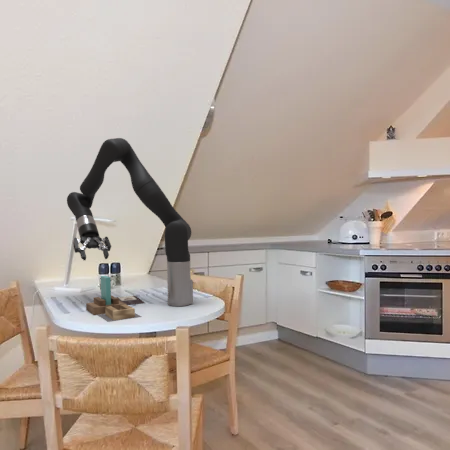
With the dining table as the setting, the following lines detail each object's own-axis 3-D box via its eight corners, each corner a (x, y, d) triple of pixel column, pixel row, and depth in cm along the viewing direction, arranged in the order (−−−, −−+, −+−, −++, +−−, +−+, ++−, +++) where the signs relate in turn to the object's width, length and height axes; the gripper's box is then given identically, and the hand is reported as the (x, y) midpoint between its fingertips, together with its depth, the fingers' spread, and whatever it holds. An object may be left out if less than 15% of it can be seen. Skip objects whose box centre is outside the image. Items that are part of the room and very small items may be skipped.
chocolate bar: (123, 305, 171) (114, 297, 187) (123, 307, 171) (114, 299, 187) (145, 302, 174) (135, 295, 191) (145, 305, 174) (135, 297, 191)
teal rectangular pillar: (105, 301, 165) (105, 275, 165) (111, 304, 160) (110, 277, 160) (101, 302, 164) (100, 276, 164) (106, 305, 159) (105, 277, 159)
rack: (125, 312, 158) (125, 304, 158) (134, 317, 151) (134, 308, 151) (105, 315, 154) (105, 306, 154) (114, 320, 147) (113, 311, 147)
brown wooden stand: (117, 307, 170) (117, 294, 170) (126, 311, 161) (126, 298, 161) (86, 311, 163) (85, 297, 163) (94, 316, 155) (93, 302, 155)
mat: (129, 311, 161) (129, 310, 161) (142, 317, 151) (142, 316, 151) (97, 316, 155) (97, 315, 155) (108, 323, 145) (108, 321, 145)
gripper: (71, 222, 175) (79, 253, 165) (106, 222, 182) (115, 251, 173) (68, 235, 179) (75, 265, 170) (102, 234, 187) (111, 263, 178)
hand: (96, 258), depth 172 cm, fingers open, 8 cm apart
